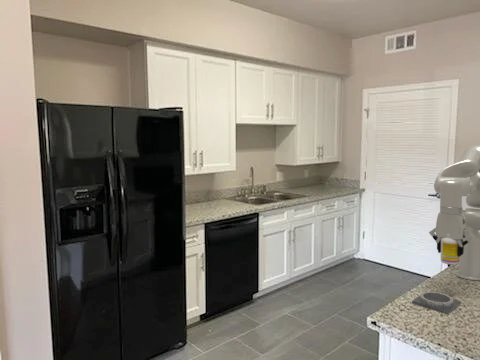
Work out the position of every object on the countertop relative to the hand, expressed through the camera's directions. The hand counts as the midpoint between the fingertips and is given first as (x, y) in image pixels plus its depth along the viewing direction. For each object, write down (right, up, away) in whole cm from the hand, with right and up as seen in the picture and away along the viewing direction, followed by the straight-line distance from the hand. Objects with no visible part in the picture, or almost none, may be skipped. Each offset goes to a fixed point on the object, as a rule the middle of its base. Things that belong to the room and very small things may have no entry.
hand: (449, 253), depth 148 cm
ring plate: (-9, -18, -7) cm, 21 cm away
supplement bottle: (0, -4, 0) cm, 4 cm away
